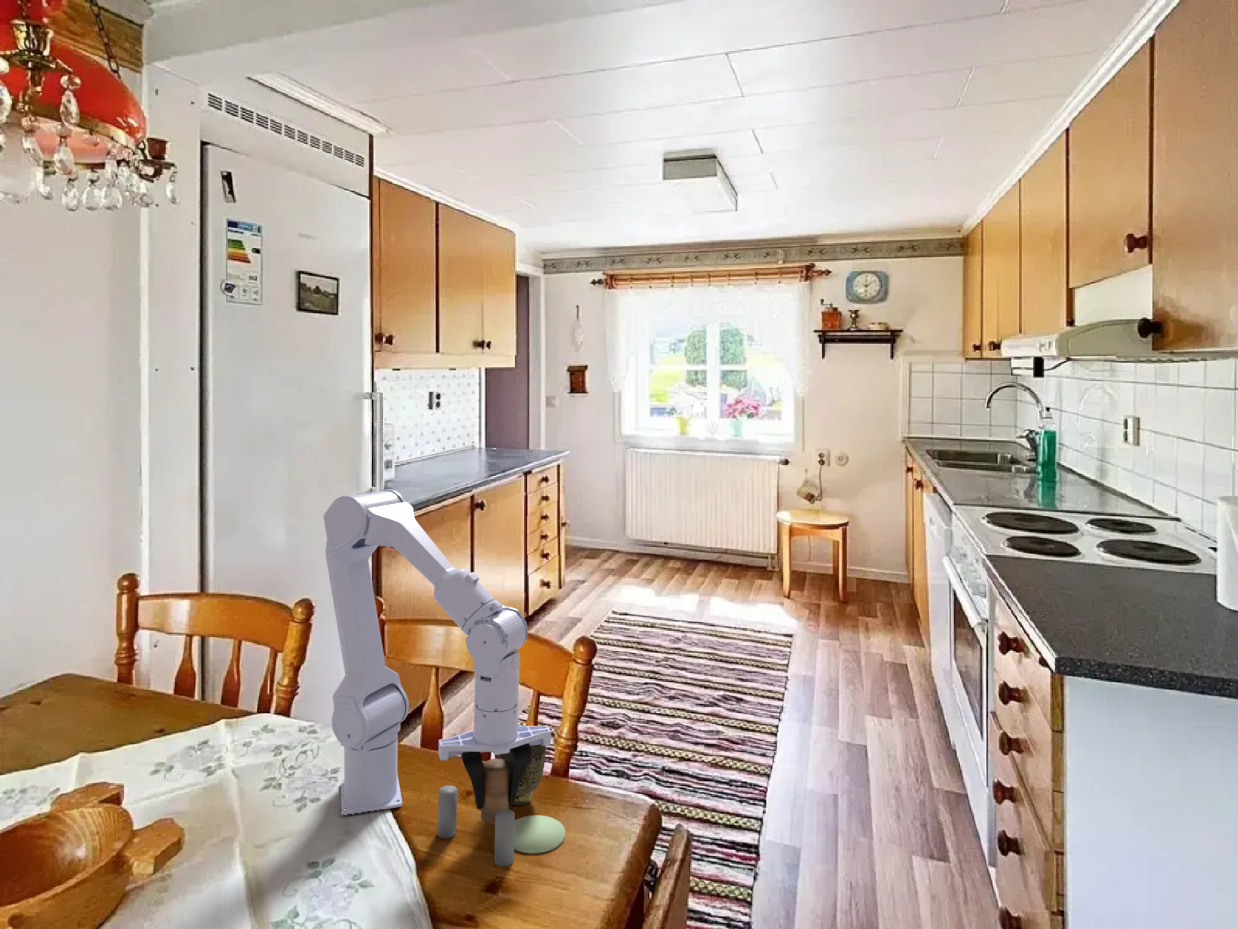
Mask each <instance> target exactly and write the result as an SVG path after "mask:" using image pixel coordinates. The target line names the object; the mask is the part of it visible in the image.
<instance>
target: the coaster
mask: <svg viewBox="0 0 1238 929" xmlns="http://www.w3.org/2000/svg"><path fill="white" fill-rule="evenodd" d="M565 837H566V828H565V826H564V825H563V823H561V821H559V820H557V819H555V818H553V817H550V816H548V815H542V814H541V815H540V814H539V815H537V814H536V815H527V816H522V817H519V818H517V819H515V828H514V851H517V852H520V853H525V854H543V853H546V852H549V851H552V850H555V849H557V848H558V847H559V846H561V845H562V844H563V842H564V841H565Z"/></svg>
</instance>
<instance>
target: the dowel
mask: <svg viewBox="0 0 1238 929" xmlns="http://www.w3.org/2000/svg"><path fill="white" fill-rule="evenodd" d="M483 764H484V766H485V767H484V774H483V808H482V809H480V819H481V821H482V822H484V823H486V824H488V825H495V814H496V813H497V812H498V811H500V810H505V809H507V810H509V806H510V804H509V763H508V762H507V761H505V760H502V759H495V758H492V759H488V760H485V761H484V762H483Z"/></svg>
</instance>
